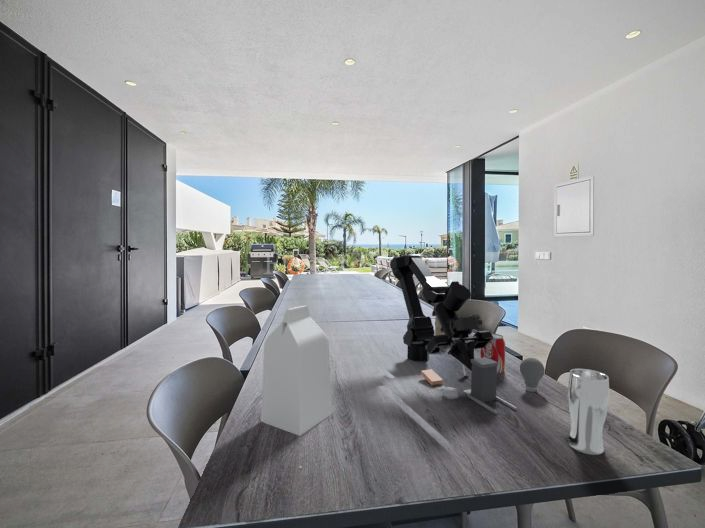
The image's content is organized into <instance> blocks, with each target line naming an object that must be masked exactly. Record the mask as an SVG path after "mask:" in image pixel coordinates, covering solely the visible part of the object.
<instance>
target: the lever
mask: <svg viewBox="0 0 705 528" xmlns="http://www.w3.org/2000/svg"><path fill="white" fill-rule="evenodd" d="M461 367H462V371H463V376H469V369H468V368H467V367H466V366H465V365H464V364H462V363H461Z"/></svg>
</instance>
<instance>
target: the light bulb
mask: <svg viewBox="0 0 705 528" xmlns="http://www.w3.org/2000/svg"><path fill="white" fill-rule="evenodd" d="M519 371H520V374H521V376H522V378H523V380H524V384H525V390H526V391H528V392H532V393H534V392H536V391H537V389H538V386H539V384H540V381H541V379H543V377H544V375H545V371H546V370H545V366H544V364H543V363H542V362H541V361H540V360H539V359H537V358H535V357H526V358H524V359H523V360H522V361H521V362H520V364H519Z"/></svg>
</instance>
